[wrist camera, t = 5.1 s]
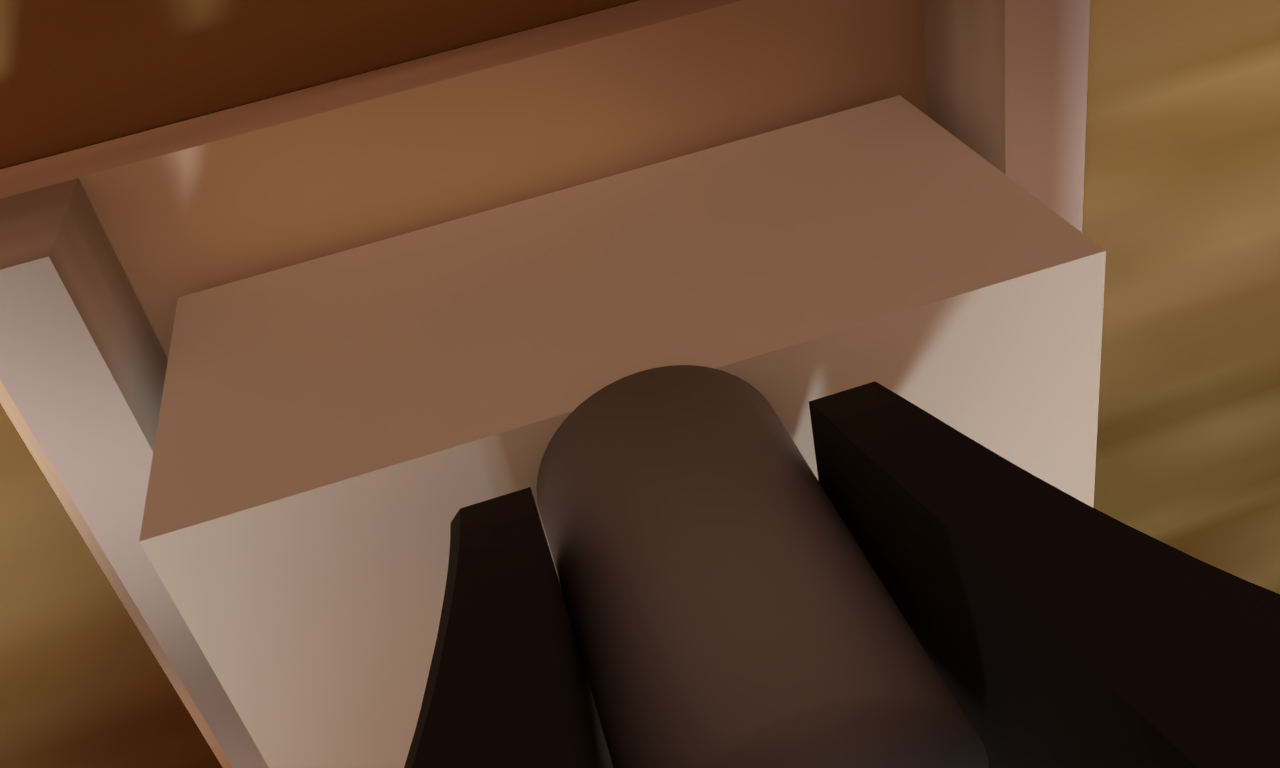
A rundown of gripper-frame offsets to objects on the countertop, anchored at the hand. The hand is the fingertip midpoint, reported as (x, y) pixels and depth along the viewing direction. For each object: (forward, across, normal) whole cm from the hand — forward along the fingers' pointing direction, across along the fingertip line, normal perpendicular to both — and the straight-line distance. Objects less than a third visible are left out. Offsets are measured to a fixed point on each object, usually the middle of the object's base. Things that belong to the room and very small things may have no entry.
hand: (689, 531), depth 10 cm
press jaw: (+6, 0, +2) cm, 6 cm away
